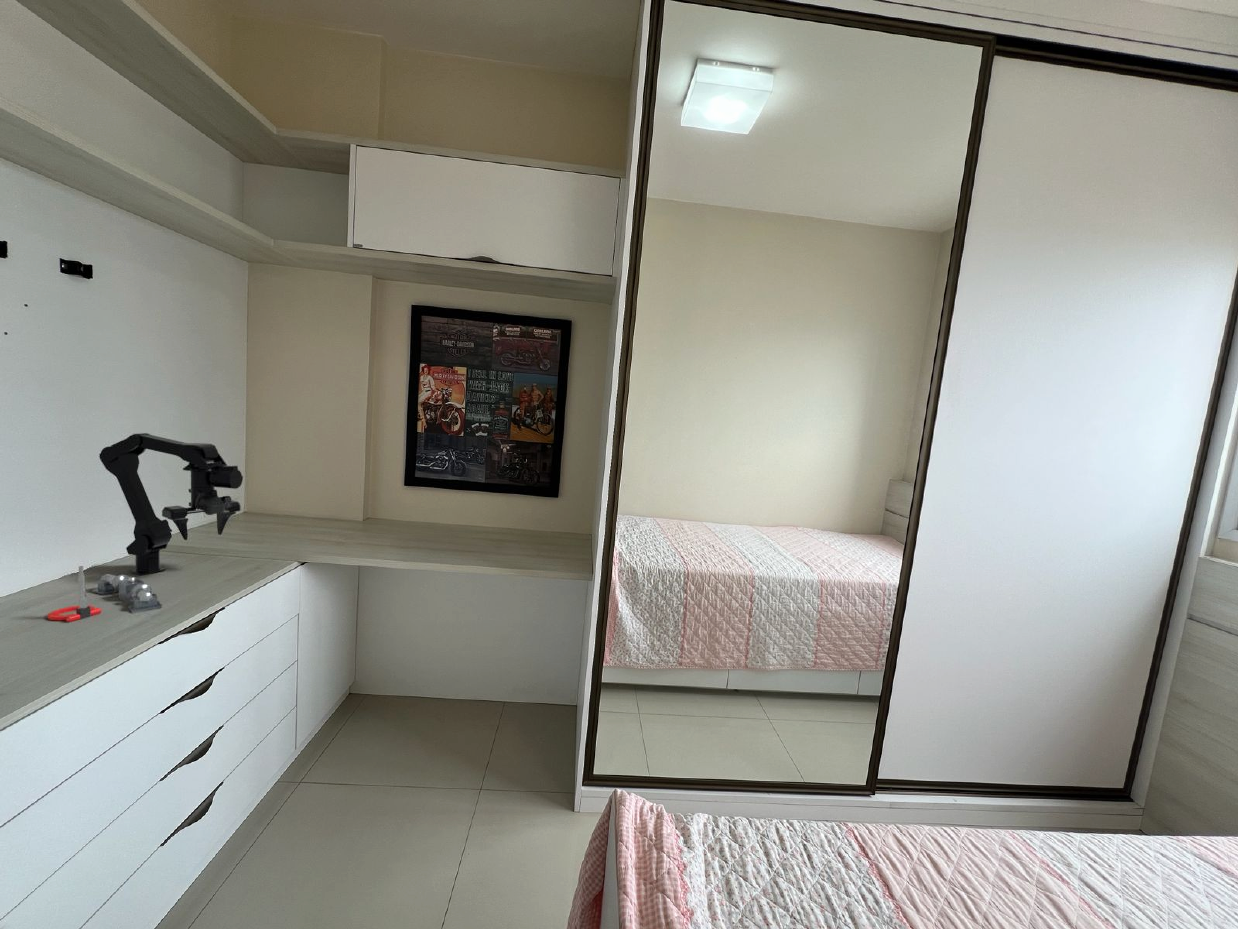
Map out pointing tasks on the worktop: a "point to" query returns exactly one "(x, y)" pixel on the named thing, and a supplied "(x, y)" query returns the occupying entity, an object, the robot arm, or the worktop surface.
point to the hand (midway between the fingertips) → (203, 537)
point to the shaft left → (110, 584)
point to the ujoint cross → (128, 588)
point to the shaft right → (143, 599)
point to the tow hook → (81, 610)
